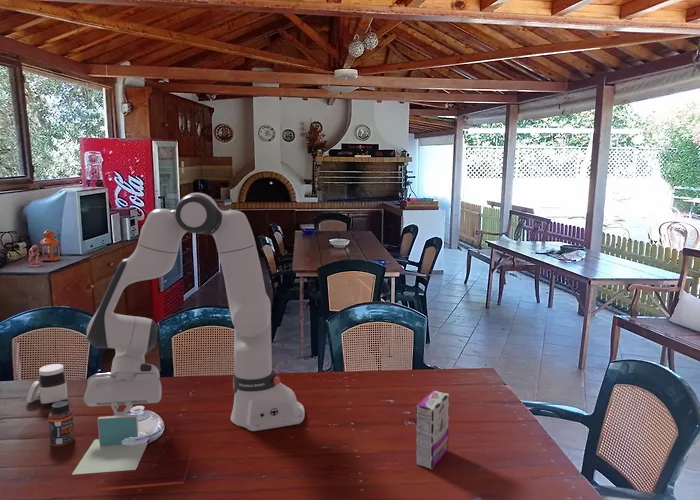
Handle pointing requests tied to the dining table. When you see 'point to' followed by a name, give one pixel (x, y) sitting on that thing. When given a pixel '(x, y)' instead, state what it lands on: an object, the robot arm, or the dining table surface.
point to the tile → (117, 429)
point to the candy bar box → (432, 429)
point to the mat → (110, 458)
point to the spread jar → (49, 385)
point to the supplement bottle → (61, 424)
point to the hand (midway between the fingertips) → (119, 419)
